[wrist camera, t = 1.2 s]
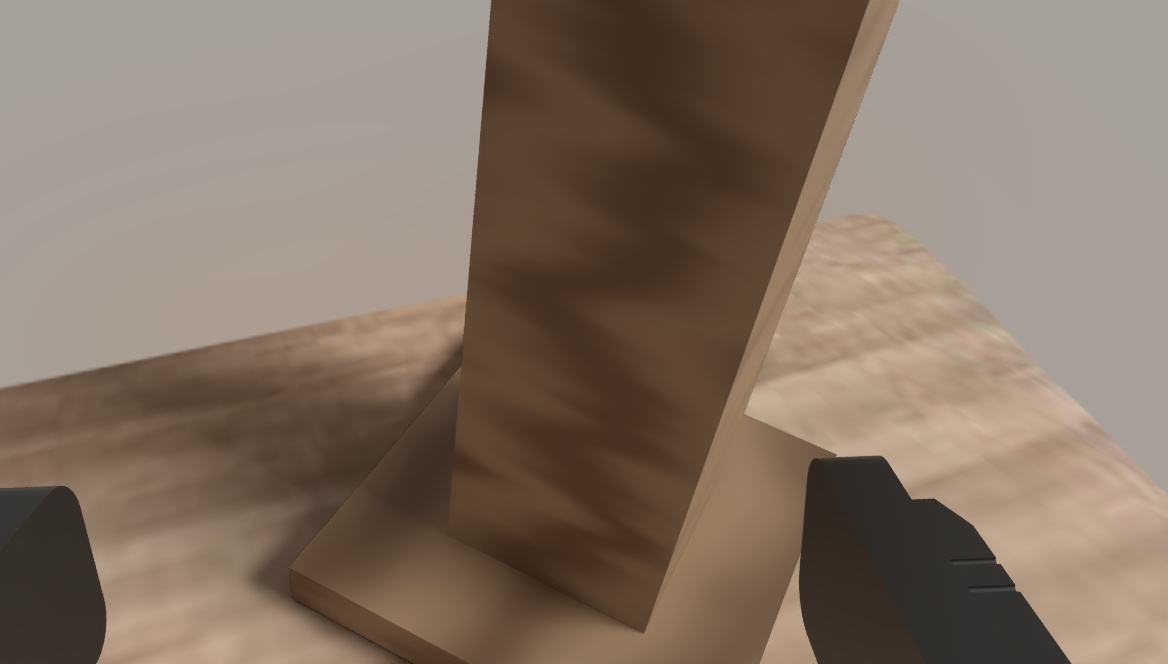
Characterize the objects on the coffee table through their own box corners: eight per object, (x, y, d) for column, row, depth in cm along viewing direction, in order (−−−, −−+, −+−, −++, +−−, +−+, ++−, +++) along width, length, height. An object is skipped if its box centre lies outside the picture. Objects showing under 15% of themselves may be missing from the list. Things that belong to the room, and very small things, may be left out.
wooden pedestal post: (292, 598, 36) (161, -605, 14) (504, 342, 47) (612, -548, 25) (697, 817, 32) (1353, -345, 11) (822, 483, 43) (1265, -413, 22)
